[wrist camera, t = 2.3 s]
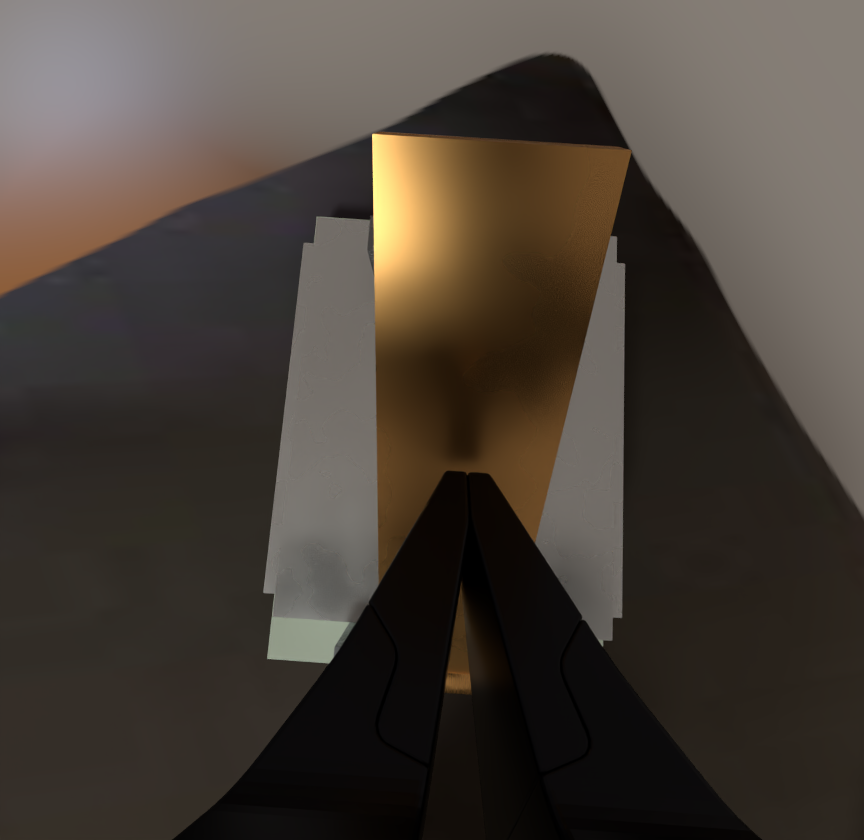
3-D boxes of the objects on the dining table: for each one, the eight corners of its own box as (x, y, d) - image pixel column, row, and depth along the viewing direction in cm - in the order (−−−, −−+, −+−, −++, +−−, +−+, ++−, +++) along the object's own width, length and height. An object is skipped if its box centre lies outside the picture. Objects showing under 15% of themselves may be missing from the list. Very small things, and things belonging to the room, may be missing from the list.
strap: (495, 665, 15) (498, 704, 14) (384, 657, 15) (379, 695, 14) (612, 145, 7) (637, 151, 6) (381, 130, 7) (369, 134, 6)
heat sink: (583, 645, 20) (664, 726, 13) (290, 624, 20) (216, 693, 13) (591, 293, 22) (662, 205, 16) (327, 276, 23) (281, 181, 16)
